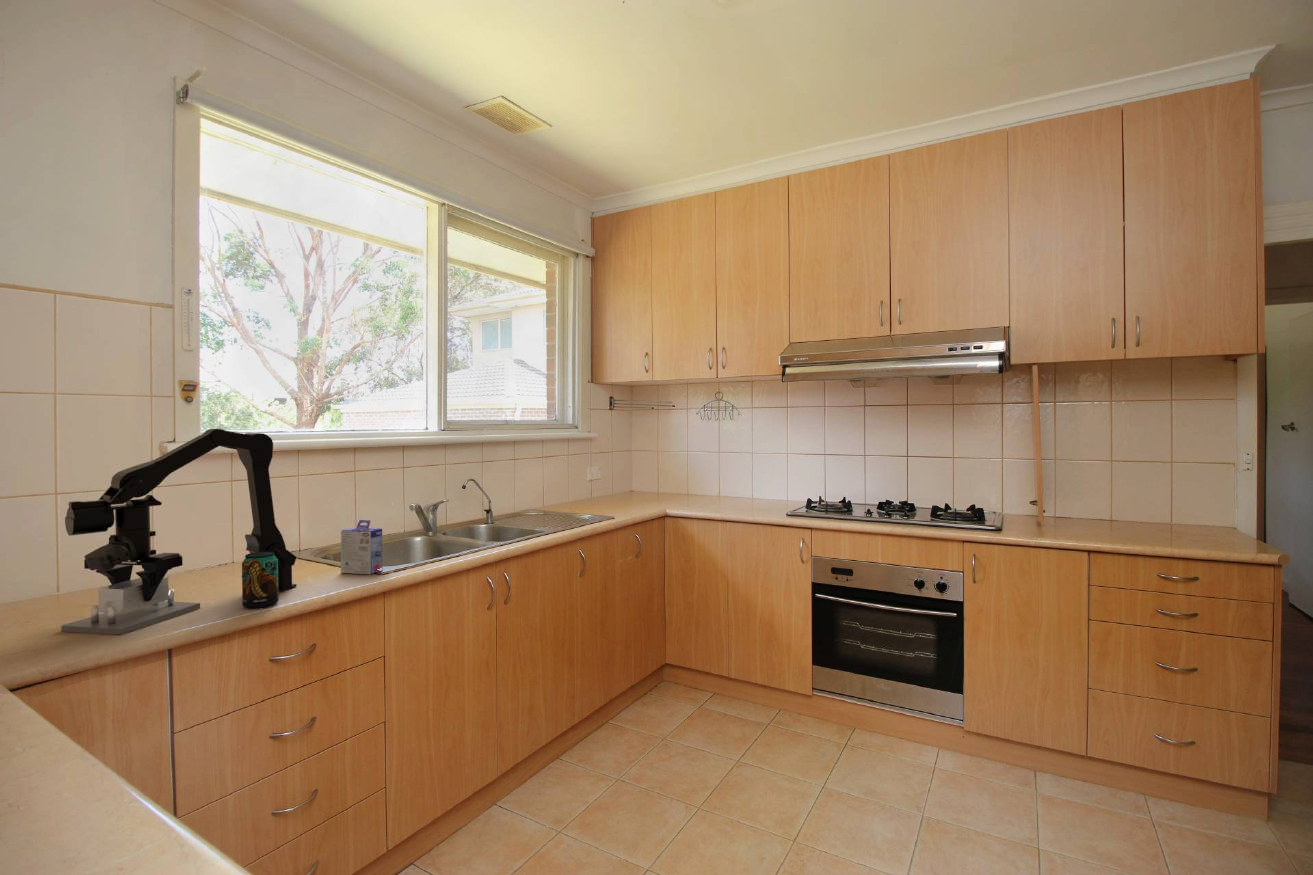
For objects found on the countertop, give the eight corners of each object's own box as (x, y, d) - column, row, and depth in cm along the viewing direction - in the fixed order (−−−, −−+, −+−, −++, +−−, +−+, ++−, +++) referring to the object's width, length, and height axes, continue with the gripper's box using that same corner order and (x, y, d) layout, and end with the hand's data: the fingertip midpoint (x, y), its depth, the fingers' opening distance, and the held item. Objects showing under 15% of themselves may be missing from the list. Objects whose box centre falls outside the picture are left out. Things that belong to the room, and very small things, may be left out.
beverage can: (240, 611, 139) (239, 558, 138) (244, 603, 145) (243, 552, 144) (277, 607, 142) (276, 555, 141) (279, 599, 148) (278, 549, 148)
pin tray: (200, 608, 141) (199, 587, 141) (120, 634, 123) (119, 611, 123) (147, 605, 143) (147, 585, 143) (61, 631, 126) (60, 608, 126)
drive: (168, 599, 138) (168, 576, 138) (123, 613, 128) (122, 588, 128) (145, 598, 139) (145, 575, 139) (98, 612, 129) (98, 587, 129)
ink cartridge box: (384, 570, 177) (383, 520, 177) (371, 575, 172) (370, 523, 171) (353, 568, 179) (352, 519, 179) (340, 573, 174) (339, 522, 173)
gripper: (54, 534, 127) (57, 610, 127) (133, 536, 124) (135, 614, 124) (110, 525, 138) (112, 594, 138) (183, 526, 135) (185, 598, 135)
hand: (135, 600), depth 133 cm, fingers closed on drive, 6 cm apart
